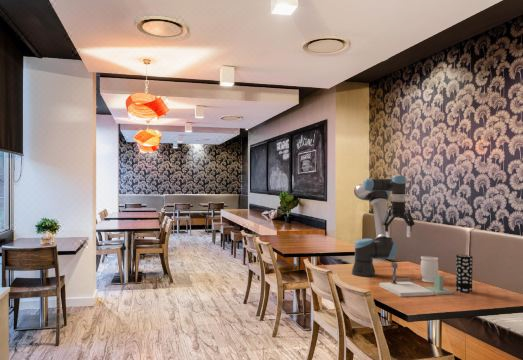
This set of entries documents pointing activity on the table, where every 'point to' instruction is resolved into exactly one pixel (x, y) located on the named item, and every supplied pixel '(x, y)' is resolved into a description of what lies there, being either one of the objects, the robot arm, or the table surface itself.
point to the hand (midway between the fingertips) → (398, 237)
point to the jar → (428, 268)
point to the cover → (439, 286)
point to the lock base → (406, 289)
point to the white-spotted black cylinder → (464, 273)
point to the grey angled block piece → (395, 273)
